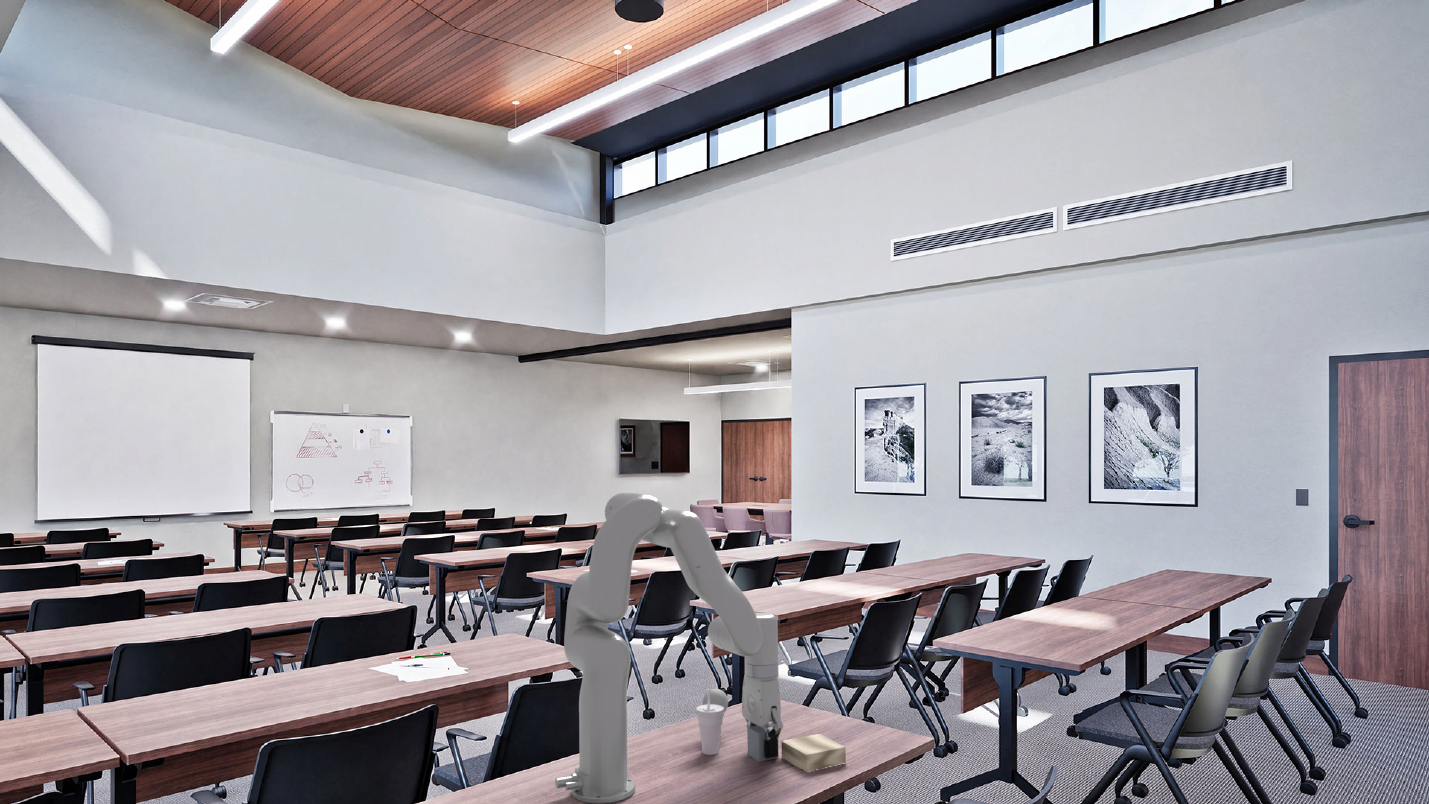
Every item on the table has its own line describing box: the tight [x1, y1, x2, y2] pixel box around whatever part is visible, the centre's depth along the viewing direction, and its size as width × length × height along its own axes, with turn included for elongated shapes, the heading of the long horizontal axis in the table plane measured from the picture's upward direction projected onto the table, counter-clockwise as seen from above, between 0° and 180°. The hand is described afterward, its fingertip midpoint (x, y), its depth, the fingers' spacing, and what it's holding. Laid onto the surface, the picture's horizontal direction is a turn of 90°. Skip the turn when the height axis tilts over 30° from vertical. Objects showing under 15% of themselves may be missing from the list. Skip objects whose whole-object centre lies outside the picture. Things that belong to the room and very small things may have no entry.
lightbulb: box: [702, 688, 729, 722], centre depth 201 cm, size 6×6×11 cm
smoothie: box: [695, 688, 725, 756], centre depth 190 cm, size 6×6×14 cm
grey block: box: [746, 725, 780, 763], centre depth 187 cm, size 5×5×6 cm
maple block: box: [780, 733, 847, 773], centre depth 184 cm, size 10×10×4 cm
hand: (762, 751), depth 187 cm, fingers open, 6 cm apart
